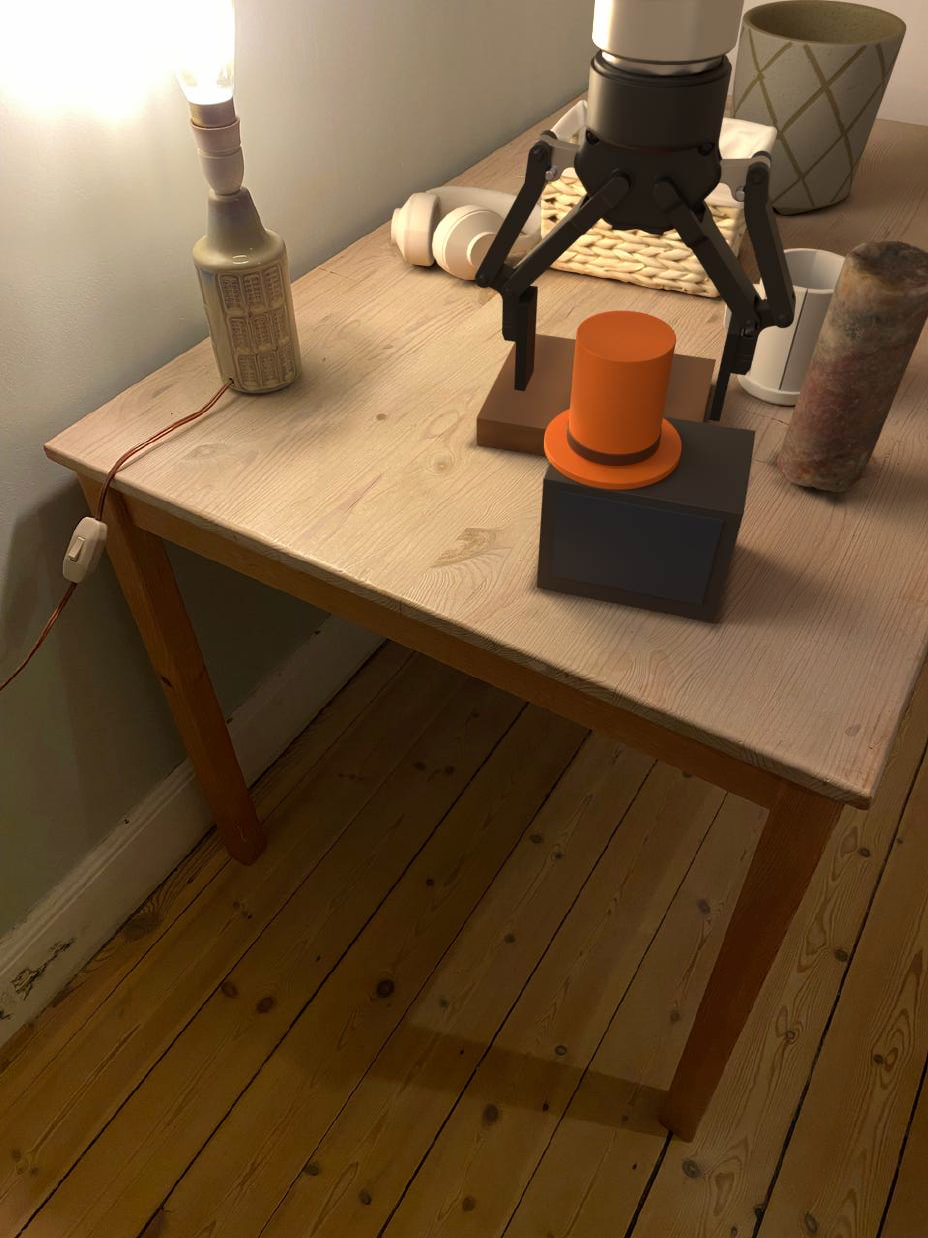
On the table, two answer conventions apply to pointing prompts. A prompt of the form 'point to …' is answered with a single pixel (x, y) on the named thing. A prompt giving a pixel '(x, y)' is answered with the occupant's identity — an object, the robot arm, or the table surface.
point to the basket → (639, 251)
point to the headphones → (457, 227)
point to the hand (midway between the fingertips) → (617, 395)
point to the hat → (617, 404)
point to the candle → (857, 365)
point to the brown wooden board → (548, 394)
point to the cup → (792, 328)
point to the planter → (814, 91)
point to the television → (651, 528)
